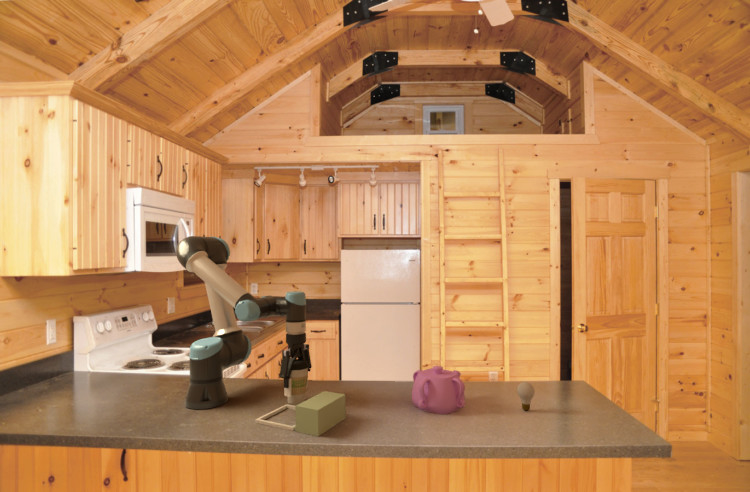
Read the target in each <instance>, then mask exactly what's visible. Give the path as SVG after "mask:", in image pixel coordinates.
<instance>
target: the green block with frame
mask: <svg viewBox="0 0 750 492" xmlns="http://www.w3.org/2000/svg"><path fill="white" fill-rule="evenodd" d="M286 409H289V410H293V411H295V413H294V414H295V415H294V417H295V420H294V421H295V423H294V424H293V425H288V424H284V423H279V422H274V421H271V420H267V419H268V418H271V417H272V416H274V415H276V414H278V413H280V412H282V411H284V410H286ZM346 410H347V409H346V394H344V393H340V392H339V393H338V392H332V391H326V390H324V391H322V392H320V393H317V394H316V395H314V396H312V397H310V398H308V399H305V401H304V402H302V403H300V404H296V405H293V404H289V403H287V404H284V405H282V406H279V407H277V408H275V409H274V410H271V411H269V412H268V413H266V414H263V415H261V416H259V417H258V418H255V419H254V423H255V424H260V425H263V426H267V427H273V428H276V429H277V428H279V429H283V430H287V431H291V432H293V431H295V432H296V433H301V434H306V435H308V436H309V435H311V436H314V437H319V436H320V435H321V436H322V435H323V434H324V433H325V432H328V430H330V429H332V428H333V427H335V426H336V425H338V424H339V423H340V422H342V421H343V420H345V419H346V413H347V412H346Z"/></svg>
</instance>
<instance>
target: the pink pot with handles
mask: <svg viewBox="0 0 750 492" xmlns="http://www.w3.org/2000/svg"><path fill="white" fill-rule="evenodd" d="M461 375H462V374H461V372H460V371H458V370H456V369H454V370H453V371H452V370H447V369H444V367H443V366H441V365H434V366H432V367H431V368H426V369H424V370H421V369H418V370H416V371H415V372H414V373H413V374H412V380H413V385H412V389H411V390H412V391H411V402H412V403H413V405H414V407H415V408H416V409H417V408H418V409H419V410H421V411H424V412H427V413H432V414H437V415H450V414H452V413H455V412H457V411H458V410H460V409H463V408H464V407H465V406H466V401H465V396H466V395H465V390H466V389H465V388H466V385H465V383H464V382H463V380H462V379H461V378H460V377H461Z"/></svg>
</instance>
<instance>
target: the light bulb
mask: <svg viewBox="0 0 750 492" xmlns="http://www.w3.org/2000/svg"><path fill="white" fill-rule="evenodd" d="M534 387H535V386H533V384H531V383H530V382H528V381H522V382H520V383H519V384H518V385H517V388H516V392H517V395H518V396H519V398H520V402H521V408H522V410H523V411H525V412H527V411H529V410H530V409H531V402H532V399H533V397H535V392H536V391H535V388H534Z"/></svg>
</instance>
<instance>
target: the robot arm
mask: <svg viewBox="0 0 750 492" xmlns="http://www.w3.org/2000/svg"><path fill="white" fill-rule="evenodd" d="M175 255H176V259H177V261H178V262H179V264H180V265H181V267H182V268H184V269H185V270H186V271H188V272H189V273H194V274H195V275H196V276H197V277H198V278H200V279H201V280H202V281H203V282H204V285H205V290H206V295H207V299H208V303H209V308H210V311H211V318H212V321H213V326H214V331H215V332H214V334H213V335H212V336H210V337H206V338H205V337H204V338H201V339H198V340H196V341H194V342H192V343H191V345H190V347H189V354H188V357H189V385H188V389H187V392H186V396H185V397H184V406H185V408H188V409H191V410H205V409H206V410H207V409H213V408H217V407H219V406H220V407H221V406H222V405H225V404H226V403H227V402H228V401H229V399H228V397H229V396H228V392H227V390H226V386H225V384H224V380H223V379H224V378H223V375H224V374H223V373H224V370H226V369H228V368H231V367H235V366H238V365H241V364H242V363H245V362H246V361H247V360H248V359H249V357H250V356H251V353H252V349H253V348H252V341H251V339H250V338H249V337H248V336H247V335H246V334H244V333H243V328H241V327H240V326H239V325H238V324H237V319H238V320H239V321H241V322H243V323H244V322H246V323H247V322H254V321H257V320H261V319H266V318H270V317H285V333H286V334H285V344H287V345H288V346H287V349H285V350H284V349H283V350H282V351H281V356H282V357H281V362H280V363H281V364H280V371H279V379H283V387H284V388H283V389H284V390H283V393H284V397H287V396H288V397H291V378H290V375H291V372H292V370H291V368H292V365H293V364H294V362H295V361H296V359H298V360H301V361H302V360H307V362H308V364H309V368H308V372H311V368H312V367H313V366H312V361H311V354H310V344H308V343H306V342H307V333H306V332H307V321H306V320H307V311H306V310H307V308H306V307H307V299H306V298H307V297H306V293H305V292H304V291H302V290H301V291H299V290H298V291H295V290H293V291H287V292H286V293H285V296H276V295H263V296H261V297H260V298H256V297H255V296H254V295H252V294H251V293H250V292H249V291H248V290H247V289H245V288H244V287H243V286H242V285H241V284H240V283H238V282H237V281H236V280H235V279H234V278H233V277H231V276H230V275H229V274H228V273H227V272H226V268H227V267H228V264H227V263H228V262H229V261H228V260H229V259H230V258H229V257H231V251H230V247H229V244H228V242H226V241H225V240H224V239H223V238H221V237H218V236H217V237H216V236H210V235H209V236H199V235H198V236H196V235H192V236H186V237H185V238H183V239H181V240H180V241H179V243H178V244H177V246H176V250H175ZM234 309H235V310H234ZM236 318H237V319H236ZM308 379H309V376H308V377H307V386H306V390H308V385H309V384H308V383H309V382H308Z"/></svg>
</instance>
